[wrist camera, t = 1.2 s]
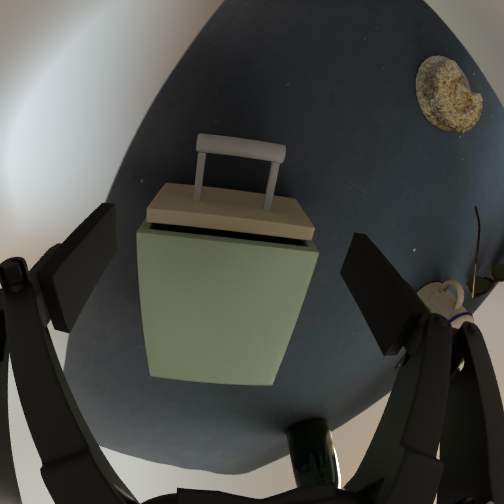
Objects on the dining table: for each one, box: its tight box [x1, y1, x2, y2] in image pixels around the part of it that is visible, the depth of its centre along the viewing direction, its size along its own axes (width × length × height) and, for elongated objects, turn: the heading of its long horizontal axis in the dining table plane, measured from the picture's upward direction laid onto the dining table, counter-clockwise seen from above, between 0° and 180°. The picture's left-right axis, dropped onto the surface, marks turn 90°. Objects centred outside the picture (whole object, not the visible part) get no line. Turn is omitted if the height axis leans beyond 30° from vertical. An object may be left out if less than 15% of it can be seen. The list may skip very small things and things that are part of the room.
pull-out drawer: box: [147, 133, 315, 245], centre depth 27 cm, size 23×13×7 cm, turn 171°
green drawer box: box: [136, 217, 319, 385], centre depth 30 cm, size 19×15×9 cm
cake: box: [416, 56, 483, 133], centre depth 22 cm, size 10×10×5 cm
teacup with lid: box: [417, 280, 474, 329], centre depth 34 cm, size 12×9×12 cm
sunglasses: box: [466, 206, 504, 299], centre depth 33 cm, size 14×15×5 cm
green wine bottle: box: [287, 419, 340, 488], centre depth 43 cm, size 10×10×33 cm
